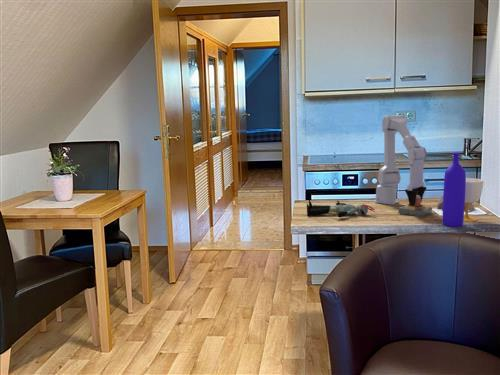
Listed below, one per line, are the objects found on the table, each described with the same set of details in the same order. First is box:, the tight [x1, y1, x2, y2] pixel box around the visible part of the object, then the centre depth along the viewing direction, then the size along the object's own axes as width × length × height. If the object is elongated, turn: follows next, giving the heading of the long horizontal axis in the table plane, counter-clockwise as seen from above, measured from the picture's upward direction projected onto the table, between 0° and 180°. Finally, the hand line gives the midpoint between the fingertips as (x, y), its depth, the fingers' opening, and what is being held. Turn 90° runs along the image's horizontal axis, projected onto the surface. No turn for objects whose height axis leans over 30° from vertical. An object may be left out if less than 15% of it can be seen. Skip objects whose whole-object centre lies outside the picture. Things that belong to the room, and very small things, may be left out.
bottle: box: [442, 151, 467, 228], centre depth 209 cm, size 8×8×30 cm
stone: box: [436, 195, 475, 212], centre depth 241 cm, size 17×10×10 cm
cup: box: [463, 177, 484, 222], centre depth 220 cm, size 12×12×17 cm
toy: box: [306, 199, 375, 218], centre depth 235 cm, size 26×8×30 cm
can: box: [410, 195, 422, 207], centre depth 233 cm, size 4×4×6 cm
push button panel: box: [398, 203, 433, 218], centre depth 233 cm, size 12×9×4 cm
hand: (415, 203), depth 233 cm, fingers open, 7 cm apart
